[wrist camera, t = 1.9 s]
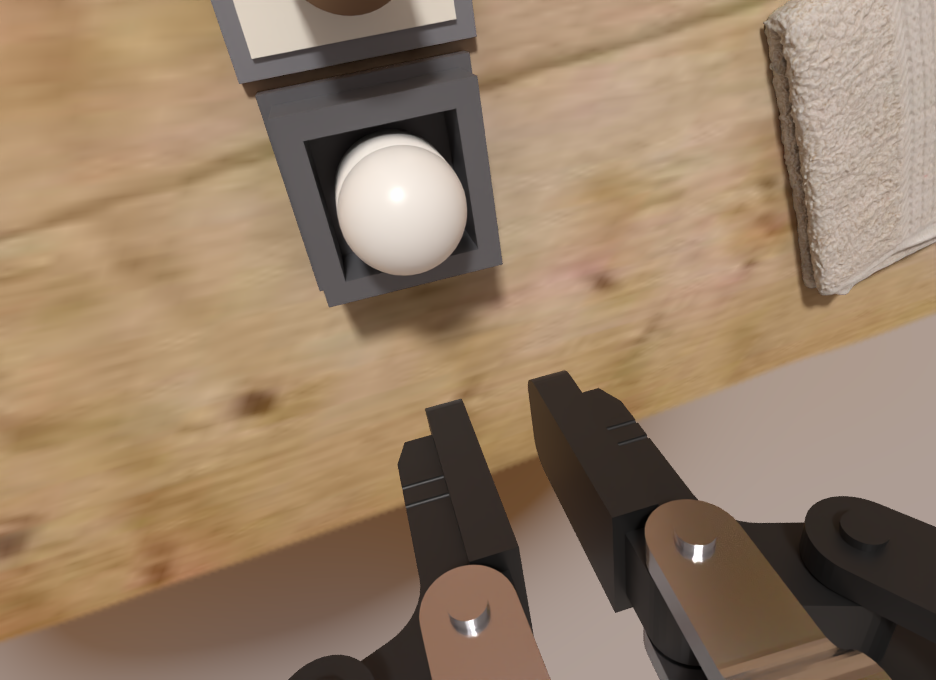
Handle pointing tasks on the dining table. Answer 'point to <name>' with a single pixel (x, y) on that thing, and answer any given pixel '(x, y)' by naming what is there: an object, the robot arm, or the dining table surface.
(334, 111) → the button base
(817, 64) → the washcloth
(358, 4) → the brown cylinder
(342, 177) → the dome
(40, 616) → the dining table surface
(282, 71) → the game board
